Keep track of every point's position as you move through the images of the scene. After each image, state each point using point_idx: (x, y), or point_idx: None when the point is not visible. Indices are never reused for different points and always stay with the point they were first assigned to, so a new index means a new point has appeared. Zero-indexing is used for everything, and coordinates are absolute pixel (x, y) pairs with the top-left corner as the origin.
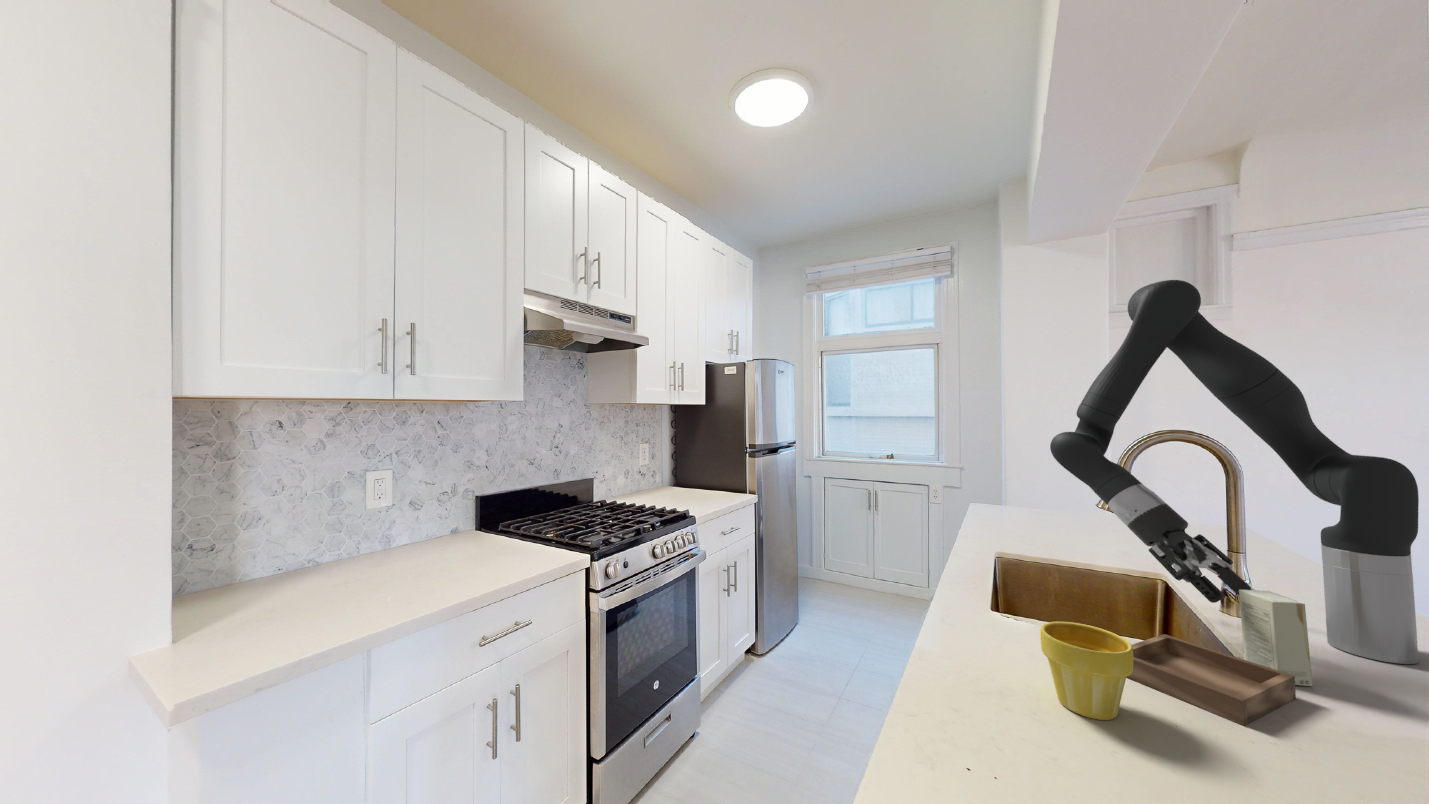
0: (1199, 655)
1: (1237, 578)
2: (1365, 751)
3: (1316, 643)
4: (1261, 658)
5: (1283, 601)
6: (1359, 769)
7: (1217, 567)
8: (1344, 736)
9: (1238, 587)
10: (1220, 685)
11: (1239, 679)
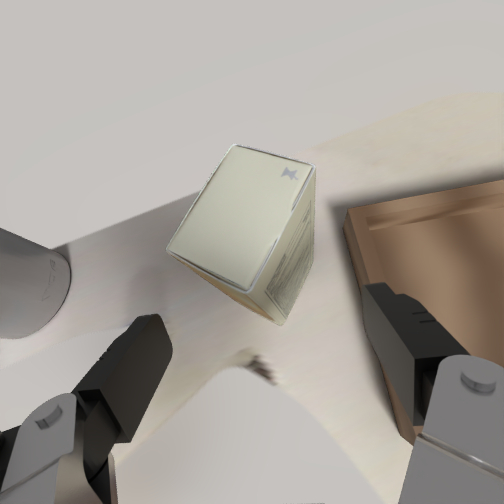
0: None
1: (131, 349)
2: (413, 137)
3: (50, 339)
4: (300, 280)
5: (275, 161)
6: (471, 117)
7: (84, 460)
8: (398, 159)
9: (156, 349)
10: (461, 269)
11: (389, 276)
